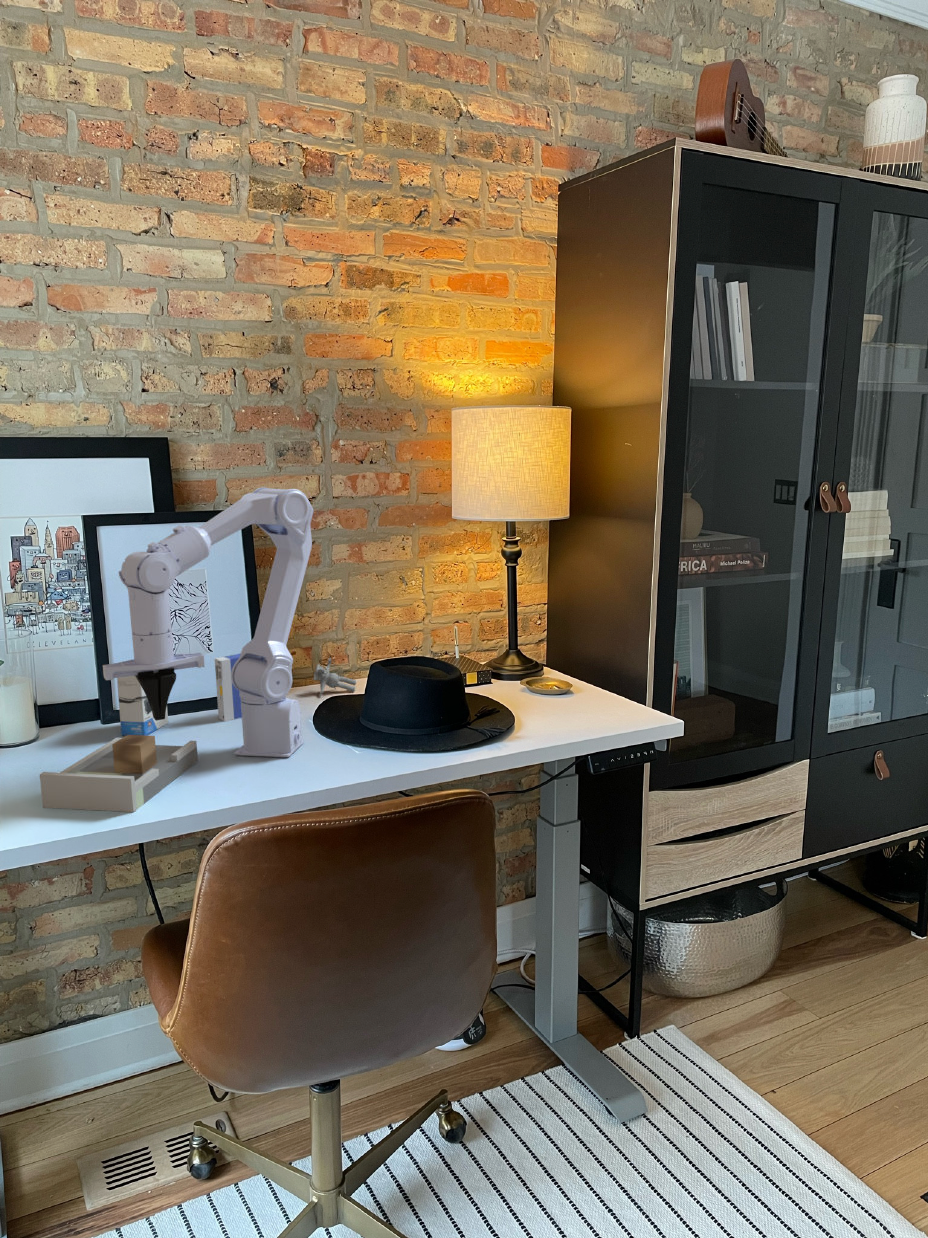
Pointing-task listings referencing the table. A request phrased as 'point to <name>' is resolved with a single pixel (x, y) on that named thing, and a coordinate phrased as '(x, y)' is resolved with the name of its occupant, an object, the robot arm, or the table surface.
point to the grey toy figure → (332, 679)
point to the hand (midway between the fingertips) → (159, 718)
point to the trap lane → (114, 780)
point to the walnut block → (134, 754)
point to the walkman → (227, 689)
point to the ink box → (136, 708)
